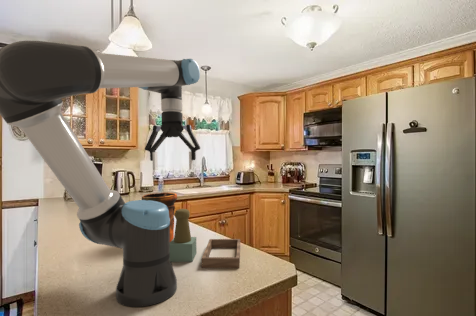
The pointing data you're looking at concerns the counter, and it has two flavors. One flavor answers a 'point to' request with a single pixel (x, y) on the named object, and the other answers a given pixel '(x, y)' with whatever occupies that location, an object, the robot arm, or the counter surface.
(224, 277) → the counter surface
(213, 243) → the wooden frame
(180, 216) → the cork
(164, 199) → the vessel
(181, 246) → the stand
